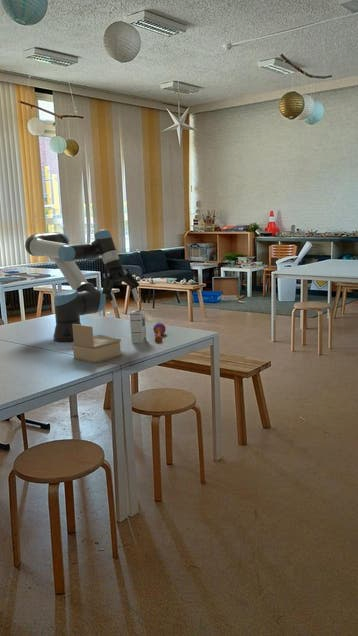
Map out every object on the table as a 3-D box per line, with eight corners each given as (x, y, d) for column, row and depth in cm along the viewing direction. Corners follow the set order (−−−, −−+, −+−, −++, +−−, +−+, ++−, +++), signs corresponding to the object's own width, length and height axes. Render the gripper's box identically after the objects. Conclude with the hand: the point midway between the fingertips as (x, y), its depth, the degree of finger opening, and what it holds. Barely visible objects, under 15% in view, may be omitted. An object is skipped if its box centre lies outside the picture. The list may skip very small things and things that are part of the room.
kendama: (150, 335, 263) (152, 323, 282) (153, 347, 264) (155, 334, 284) (163, 332, 263) (164, 320, 282) (166, 344, 264) (167, 331, 283)
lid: (71, 344, 240) (69, 323, 238) (97, 337, 251) (96, 317, 249) (94, 348, 231) (92, 327, 229) (120, 341, 241) (119, 320, 240)
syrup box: (143, 343, 264) (141, 312, 261) (131, 343, 265) (129, 312, 263) (146, 340, 270) (144, 310, 267) (134, 340, 271) (132, 310, 268)
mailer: (73, 358, 241) (72, 344, 240) (98, 351, 252) (97, 338, 251) (95, 363, 232) (94, 349, 231) (120, 355, 243) (119, 342, 241)
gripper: (94, 262, 257) (109, 306, 255) (136, 255, 273) (151, 297, 271) (86, 268, 262) (101, 311, 260) (128, 261, 279) (142, 301, 277)
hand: (126, 304), depth 266 cm, fingers open, 13 cm apart
